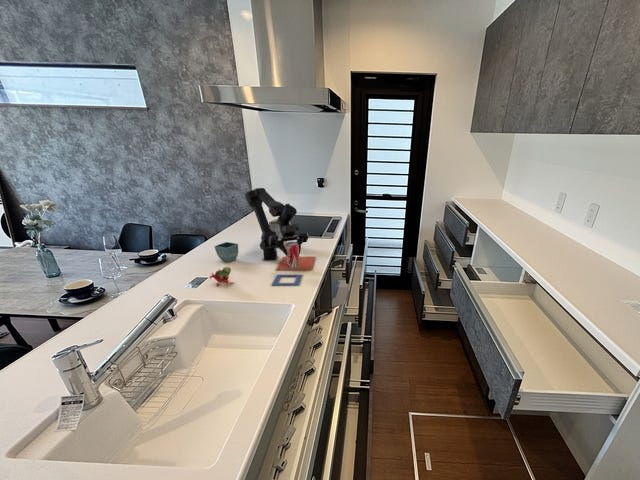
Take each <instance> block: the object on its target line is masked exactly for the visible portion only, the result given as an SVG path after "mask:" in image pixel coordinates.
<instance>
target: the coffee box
mask: <svg viewBox="0 0 640 480" xmlns="http://www.w3.org/2000/svg"><path fill="white" fill-rule="evenodd" d="M277 219H278V218H277ZM277 219H273V220H271V221H268V223H269V226H270V229H271V230H272V231H273V232H274V231H275V232H276V235H278V237H281V238H282V235H281V233H280V228H279V224H277ZM283 243H284V246H286V243H288V241H284V242H283Z"/></svg>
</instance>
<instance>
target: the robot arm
mask: <svg viewBox="0 0 640 480" xmlns="http://www.w3.org/2000/svg"><path fill="white" fill-rule="evenodd" d="M244 198H245V200H246V201H247V204H248V205H249V206H250V207H251V208H252V209H253V211H254V214H255V217H256V220H257V222H258V225H259V227H260V230H261V237H260V239H261V241H260V243H259V249H261V250H262V251H263V259H262V260H263V261H276V260H277V258H278V250H277V249H279V250H280V251H282V253H283V254H284V255H285V257H286V256H287V251H286V247H285V246H286V245H284V243H283V242H284V241H287V242H294V241H296V242H297V243H298V245H299V255H301V249H302V248H301V247H302V244H303V243H307V242H308V240H309V238H310V236H309V233H307V232H306V231H305V232H299V234H298V235H296V232H297V231H299V230H300V226H299V223H293V224H291V222H292V221H293V219H294V218H295V216H296V215H297V214H298V211H297V209H296V207H294V206H293V205H291V204H290V203H285V204H283V202H281V201H277V200H275V198H273V196H272V195H270V193H269V192H268V191H266V188H264V187H256V188H254V189H253V190H248V191H246V193H245V194H244ZM263 203H264V204H265V205H266V207H267V208H268V212H269V214H270V215H271V216H272V217H273V218H276V217H277V224H279V228H280V233H281V235H282V238H281V237H278V235H276V232H275V231H274V232H273V231H272V230H271V229H270V226H269V221H268V218H267V215H266V213H265V212H266V211H265V209H264V207H263Z"/></svg>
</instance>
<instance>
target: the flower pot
mask: <svg viewBox="0 0 640 480" xmlns="http://www.w3.org/2000/svg"><path fill="white" fill-rule="evenodd" d="M213 247H214V250H215V253H216V255H217V257H218V258H219V259H220V260H221V261H222V262H227V263H230V262H233V261H235V260H236V259H237V258H238V255H239V243H236V242H230V241H225V242H223V243H219V244H216V245H214V246H213Z"/></svg>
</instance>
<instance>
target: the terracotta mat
mask: <svg viewBox="0 0 640 480" xmlns="http://www.w3.org/2000/svg"><path fill="white" fill-rule="evenodd" d="M299 258H300V266H299V267H297V268H290V267H288V266H287V260H286V256H283V257H282V259H281V261H280V262H279V264H278V265H277V267H276V271H312V270H313V266H314V262H315V259H316V256H299Z"/></svg>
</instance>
